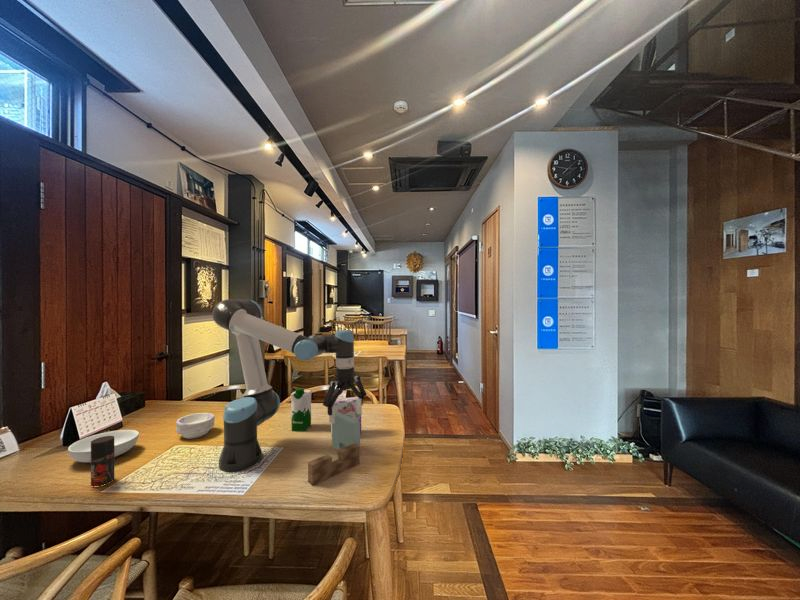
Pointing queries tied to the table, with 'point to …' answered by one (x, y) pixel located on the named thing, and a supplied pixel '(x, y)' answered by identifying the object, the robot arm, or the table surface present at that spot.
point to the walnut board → (333, 464)
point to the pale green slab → (345, 431)
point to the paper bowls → (195, 425)
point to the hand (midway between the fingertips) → (346, 417)
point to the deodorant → (102, 460)
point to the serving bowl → (121, 437)
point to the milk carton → (301, 409)
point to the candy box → (347, 409)
